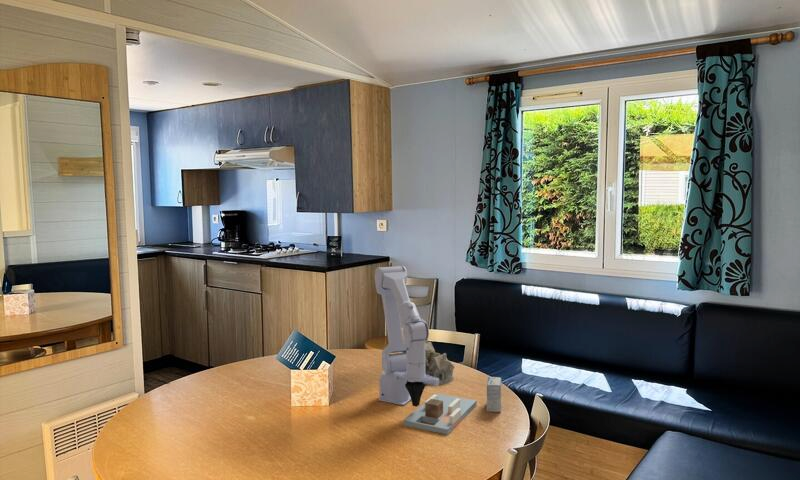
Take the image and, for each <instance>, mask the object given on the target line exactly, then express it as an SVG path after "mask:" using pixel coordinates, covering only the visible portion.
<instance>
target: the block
mask: <svg viewBox="0 0 800 480" xmlns="http://www.w3.org/2000/svg"><path fill="white" fill-rule="evenodd" d="M426 401H427V400H426ZM424 403H425V402H424ZM442 414H443V401H441V400H435V399H430V400H429V401H427V402H426V403H425V416H427V417H432V418H437V419H438V418H439V417H440V416H441V415H442Z"/></svg>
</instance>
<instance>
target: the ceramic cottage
mask: <svg viewBox="0 0 800 480" xmlns="http://www.w3.org/2000/svg"><path fill="white" fill-rule="evenodd" d="M454 369H455V365H454V364H453V363H452V362H451V361H450V360H449V359H448V358H447V353H446V352H444V353H442V354H441V353H439V352H436V350H435V348H434V346H433V343H432V342H431V341H429V338H428V339H427V340H425V374H426V375H429V376H432V377H435V378H439V385H447V384H449V383H451V382H453V381H454V376H453V375H454V374H453V373H454Z"/></svg>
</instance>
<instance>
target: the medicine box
mask: <svg viewBox="0 0 800 480" xmlns="http://www.w3.org/2000/svg"><path fill="white" fill-rule="evenodd" d="M502 380H503V379H502V377H499V376H498V377H497V376H488V377H487V381H486V382H487V383H486V412H490V413H491V412H492V413H501V412H502V385H503V383H502V382H503V381H502Z"/></svg>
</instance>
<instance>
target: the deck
mask: <svg viewBox="0 0 800 480" xmlns="http://www.w3.org/2000/svg"><path fill="white" fill-rule="evenodd" d="M430 399H435V400H441V401H443V414H442V415H441V416H440V417H439V418H438V419H437V418H432V417H427V416H425V403H426V402H427V401H429V400H430ZM477 401H478V400H476V399H471V398H464V397H460V396H459V397H458V396H453V395H447V394H442V393H438V392H436V393H435V394H433V395H432V396H431V397H429V398H428V399H426V400H425V401H424V403H423V404H421V406H419V407H418V408H417V409H416V410H414V411H413V412H412V413H410V414H409V415H408V416H406V417H405V418H404V419H403V426H404V427H409V428H414V429H419V430H423V431H426V432H427V431H428V432H433V433H438V434H442V435H446V436H447V435H449V434H450V433H452V431H453V430H454V429H455V428H456V427H457V426H458V425H459V424H460V423H461V422H462V421H463V420H464V419H465V418H466V417H467V416H468V414H470V413H471V412H472V411H473V409H475V407H476V406H478V405H477ZM422 422H423V423H422ZM432 424H433V425H432Z"/></svg>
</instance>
